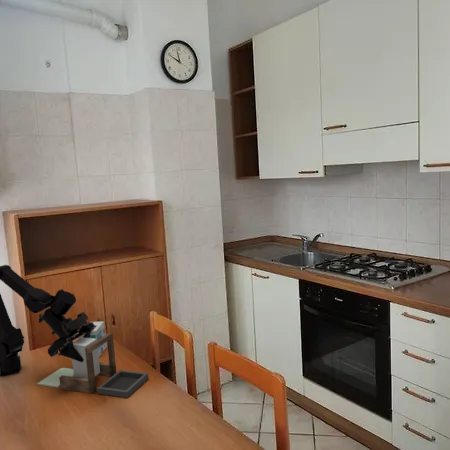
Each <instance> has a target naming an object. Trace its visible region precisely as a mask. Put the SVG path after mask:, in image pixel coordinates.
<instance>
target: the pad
mask: <svg viewBox="0 0 450 450" xmlns="http://www.w3.org/2000/svg"><path fill="white" fill-rule="evenodd" d="M62 375H64V376H71V377H74V372H73V368H67V367H60V368H59V369H58V370H56V371H54V372H53V373H51V374H49V375H48V376H47V377H45V378H43V379H42V380H40V381H39V382H37V385H38V386H42V387H43V386H44V387H52V388H60V379H59V377H61V376H62Z"/></svg>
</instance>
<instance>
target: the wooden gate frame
mask: <svg viewBox="0 0 450 450" xmlns="http://www.w3.org/2000/svg"><path fill="white" fill-rule="evenodd" d="M113 334H114V333H111V332H109V333H107V334H106V335H105V336H104V337H102V338H100V339H99V340H97V341H96V342H94V343H93V344H91V345H89V346H88V347H86V348H85V354H86V363H87V372H88V379H87V378H79V377H71V376H64V375H62V376H61V377H59V379H60V387H59V388H60V389H61V390H65V391H66V390H67V391H72V392H80V393H81V392H82V393H85V394H86V393H87V394H96V393H97V384H96V383H97V382H96V376H95V372H94V363H93V354H92V351H94V350H95V349H97V348H98V347H100V346H101V345H103V344H104V343H107V353H108V362H100V361H99V365H100V373H99V374H98V375H97V376H103V377H109V378H111V377H112V376H113V375H114V374H116V373H117V372H118V371H117V363H116V353H115V343H114V335H113Z"/></svg>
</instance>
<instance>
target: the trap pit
mask: <svg viewBox="0 0 450 450" xmlns="http://www.w3.org/2000/svg"><path fill="white" fill-rule="evenodd" d="M116 372H117V373H116V374H114V375H113V376H112V377H109V378H108V379H107V380H105V381H104V382H103V383H102V384H100V385H99V386H98V387H96V393H97V395H99V396H100V395H101V396H107V397H108V396H109V397H115V398H122V399H123V398H124V399H129V398H130V397H131V396H132V395H133V394H134V393H135V392H136V391H137V390H139V388H141V387H142V386H143V385H144V384H145V383H146V382H147V381H148V380H149V379H150V377H149V373H147V372H140V371H133V370H132V371H131V370H124V369H123V370H122V369H119V370H118V371H116Z"/></svg>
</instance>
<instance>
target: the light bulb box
mask: <svg viewBox="0 0 450 450" xmlns="http://www.w3.org/2000/svg"><path fill="white" fill-rule="evenodd" d="M91 322H92V323H93V324H94V325H95V328H94V329H93V330H92V332H91V335H90V338H94V339H97V340H99V339H100V338H102V337H104V336H105V335H107V334H106V324H105V321H91ZM107 348H108V346H107V342H106V343H104V344H103V345H101V346H100V347H98V355H99V358H100V356H102V354H103V352H104V351H105V350H106V349H107Z"/></svg>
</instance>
